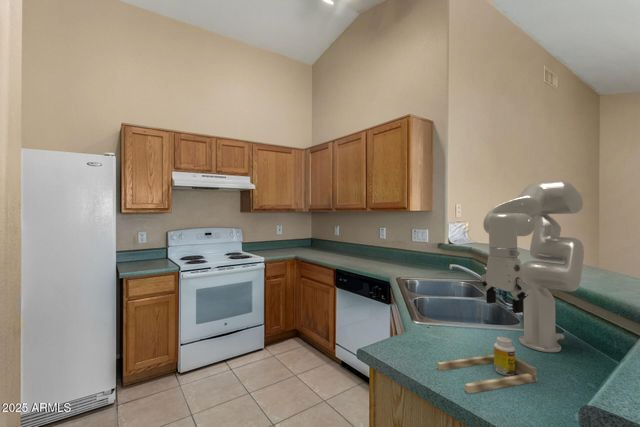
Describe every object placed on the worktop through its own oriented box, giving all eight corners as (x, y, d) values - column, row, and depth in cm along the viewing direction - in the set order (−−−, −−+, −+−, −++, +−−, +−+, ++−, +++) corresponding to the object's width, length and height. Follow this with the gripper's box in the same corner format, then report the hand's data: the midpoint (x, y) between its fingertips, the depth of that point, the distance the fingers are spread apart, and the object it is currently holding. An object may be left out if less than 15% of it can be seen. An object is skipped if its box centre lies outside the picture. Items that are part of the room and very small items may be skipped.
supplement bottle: (510, 378, 87) (509, 344, 87) (490, 370, 91) (490, 338, 91) (518, 373, 90) (518, 340, 90) (499, 365, 94) (499, 334, 94)
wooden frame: (499, 359, 98) (498, 347, 98) (537, 381, 85) (537, 367, 85) (437, 368, 92) (437, 356, 92) (468, 393, 79) (468, 379, 79)
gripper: (539, 256, 83) (540, 315, 83) (490, 249, 100) (491, 299, 100) (518, 257, 82) (519, 318, 82) (472, 250, 98) (473, 300, 98)
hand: (503, 307), depth 91 cm, fingers open, 9 cm apart
